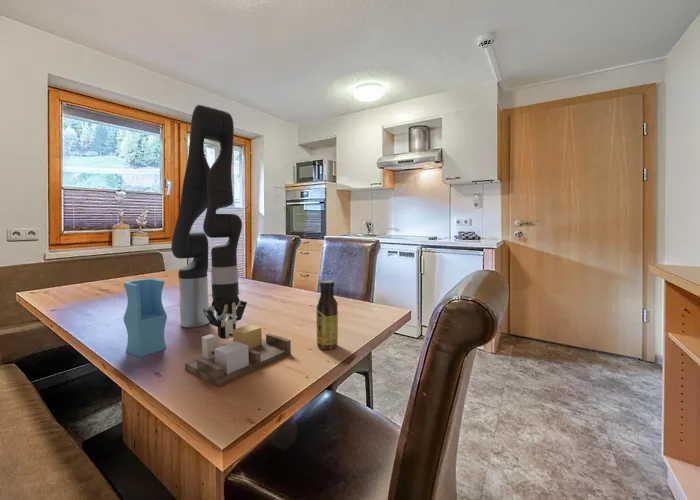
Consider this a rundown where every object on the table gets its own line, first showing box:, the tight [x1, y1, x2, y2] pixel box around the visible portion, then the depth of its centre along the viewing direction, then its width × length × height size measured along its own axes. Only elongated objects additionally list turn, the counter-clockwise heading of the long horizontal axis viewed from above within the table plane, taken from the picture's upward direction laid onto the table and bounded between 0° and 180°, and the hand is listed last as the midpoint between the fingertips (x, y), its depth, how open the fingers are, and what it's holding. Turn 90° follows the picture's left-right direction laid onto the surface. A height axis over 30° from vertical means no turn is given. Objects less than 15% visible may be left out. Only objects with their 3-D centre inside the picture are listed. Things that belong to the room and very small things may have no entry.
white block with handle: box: [201, 333, 249, 374], centre depth 81 cm, size 14×6×6 cm, turn 54°
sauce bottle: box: [316, 279, 339, 351], centre depth 94 cm, size 7×6×20 cm
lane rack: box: [184, 333, 292, 388], centre depth 85 cm, size 15×22×4 cm
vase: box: [123, 278, 168, 357], centre depth 92 cm, size 8×8×20 cm
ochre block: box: [224, 317, 263, 349], centre depth 94 cm, size 14×6×6 cm, turn 54°
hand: (227, 336), depth 98 cm, fingers closed on ochre block, 2 cm apart
